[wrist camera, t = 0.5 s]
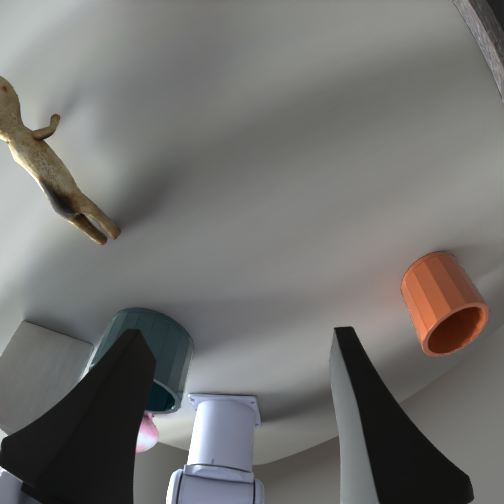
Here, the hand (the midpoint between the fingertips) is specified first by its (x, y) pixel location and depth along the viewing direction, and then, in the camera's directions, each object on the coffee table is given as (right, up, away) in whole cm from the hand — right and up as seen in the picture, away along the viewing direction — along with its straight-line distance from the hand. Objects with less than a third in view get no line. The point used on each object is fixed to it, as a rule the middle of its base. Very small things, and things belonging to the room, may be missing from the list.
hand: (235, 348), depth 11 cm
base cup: (-9, -5, +15) cm, 18 cm away
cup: (+15, +1, +10) cm, 18 cm away
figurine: (-12, +10, +6) cm, 17 cm away
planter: (-25, -8, +19) cm, 33 cm away
